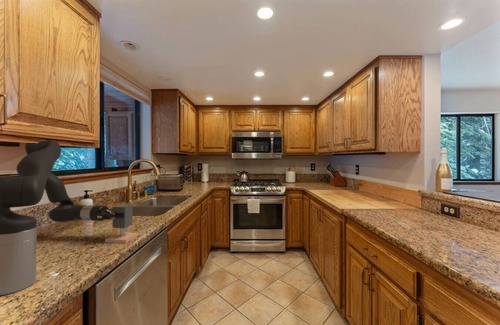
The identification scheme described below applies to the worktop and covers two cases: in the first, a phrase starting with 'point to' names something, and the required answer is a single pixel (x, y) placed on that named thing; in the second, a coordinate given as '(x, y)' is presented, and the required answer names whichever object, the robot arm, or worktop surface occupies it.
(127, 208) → the dark grey upright block
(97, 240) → the worktop surface
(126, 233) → the shaft plate
